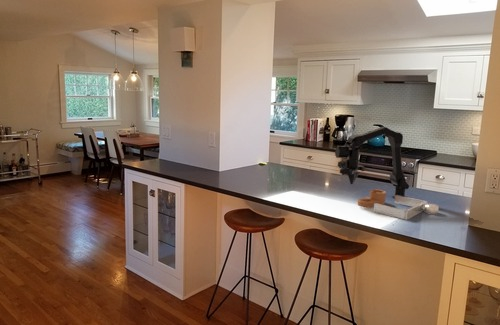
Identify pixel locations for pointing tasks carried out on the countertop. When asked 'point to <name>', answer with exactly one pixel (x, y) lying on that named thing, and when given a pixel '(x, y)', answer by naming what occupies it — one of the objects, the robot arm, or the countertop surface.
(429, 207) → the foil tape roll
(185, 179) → the countertop surface
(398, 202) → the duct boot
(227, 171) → the countertop surface
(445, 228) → the countertop surface
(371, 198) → the bracket
